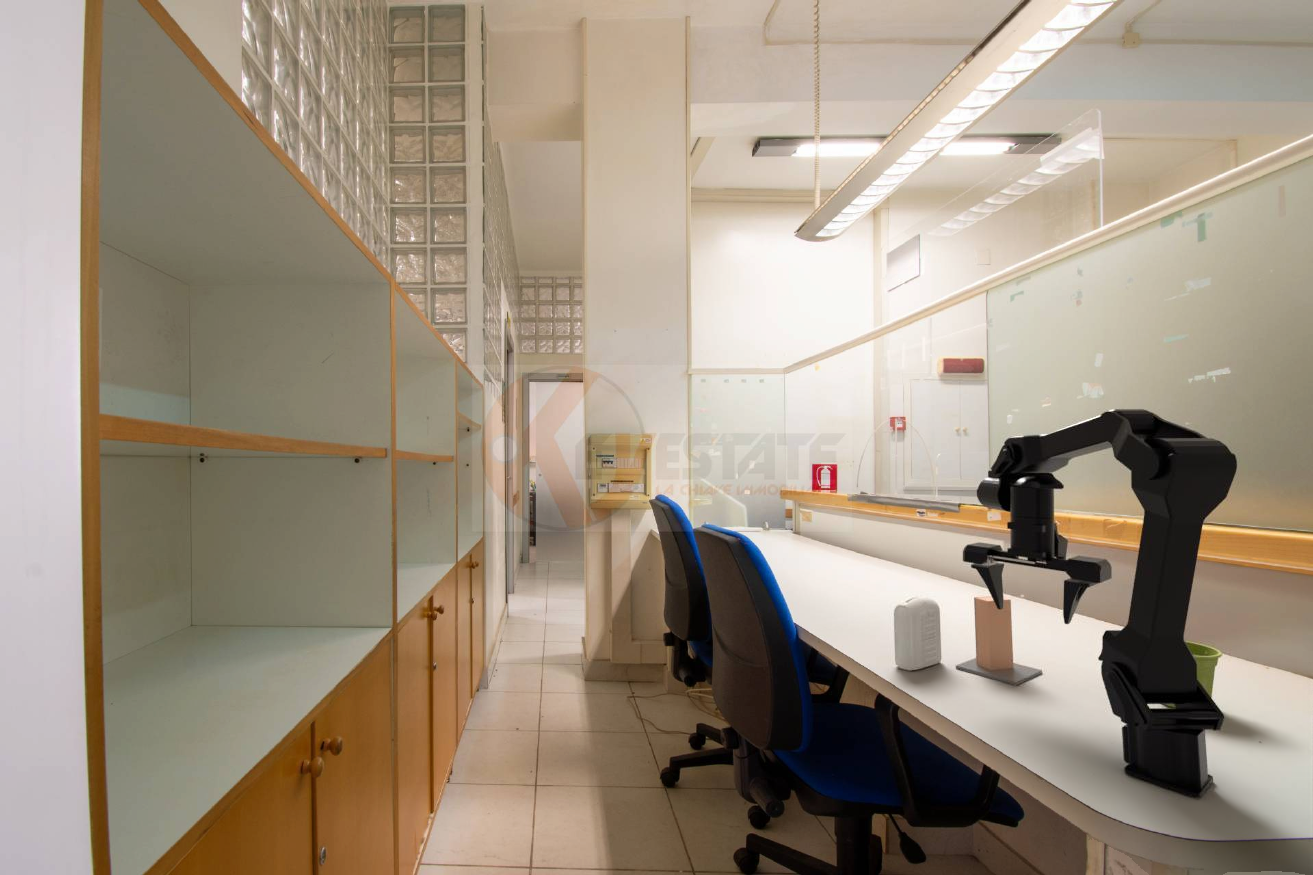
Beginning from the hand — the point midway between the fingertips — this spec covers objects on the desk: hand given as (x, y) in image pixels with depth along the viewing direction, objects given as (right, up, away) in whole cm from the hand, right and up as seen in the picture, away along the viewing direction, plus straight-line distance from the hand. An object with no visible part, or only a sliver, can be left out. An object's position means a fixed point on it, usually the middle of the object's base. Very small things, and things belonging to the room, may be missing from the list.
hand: (1032, 615), depth 87 cm
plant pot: (+21, -13, -2) cm, 25 cm away
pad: (+2, -14, +13) cm, 19 cm away
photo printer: (-10, -14, +16) cm, 24 cm away
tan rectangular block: (+2, -13, +13) cm, 19 cm away
